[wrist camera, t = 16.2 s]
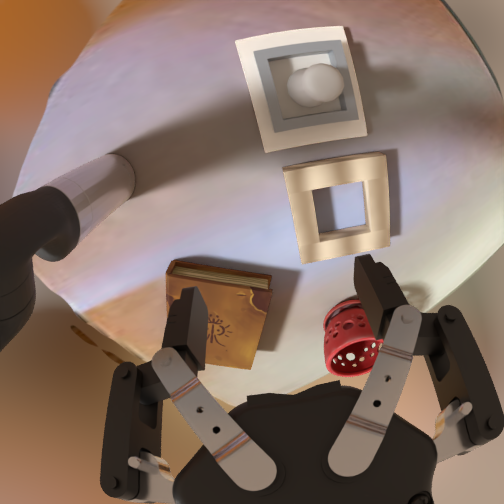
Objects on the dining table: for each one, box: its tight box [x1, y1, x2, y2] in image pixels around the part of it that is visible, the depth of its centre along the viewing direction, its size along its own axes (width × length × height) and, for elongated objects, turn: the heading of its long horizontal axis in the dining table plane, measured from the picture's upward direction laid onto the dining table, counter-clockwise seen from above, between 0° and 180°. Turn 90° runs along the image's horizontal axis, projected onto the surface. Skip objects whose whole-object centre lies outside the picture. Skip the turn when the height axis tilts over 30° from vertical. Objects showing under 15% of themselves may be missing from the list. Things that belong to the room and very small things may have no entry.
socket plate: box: [235, 26, 367, 153], centre depth 32 cm, size 16×18×4 cm
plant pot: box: [323, 300, 384, 377], centre depth 51 cm, size 13×13×12 cm
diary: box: [166, 260, 272, 370], centre depth 54 cm, size 23×19×6 cm
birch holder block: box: [282, 152, 390, 264], centre depth 42 cm, size 16×16×3 cm
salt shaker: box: [287, 63, 344, 108], centre depth 28 cm, size 6×6×13 cm
